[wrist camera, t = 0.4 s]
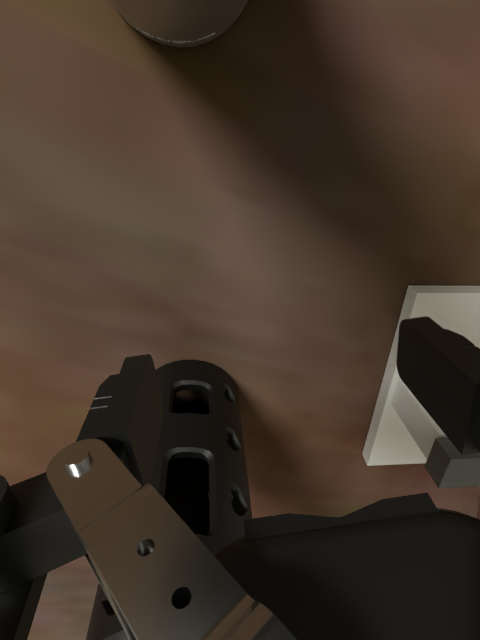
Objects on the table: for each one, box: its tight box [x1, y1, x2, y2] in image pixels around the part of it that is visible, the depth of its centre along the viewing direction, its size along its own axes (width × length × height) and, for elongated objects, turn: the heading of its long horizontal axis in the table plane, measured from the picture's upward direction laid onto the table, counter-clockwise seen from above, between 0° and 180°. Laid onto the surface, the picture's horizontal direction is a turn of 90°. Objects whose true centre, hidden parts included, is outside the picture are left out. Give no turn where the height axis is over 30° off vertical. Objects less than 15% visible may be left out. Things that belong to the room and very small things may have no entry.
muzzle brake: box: [86, 360, 252, 640], centre depth 24 cm, size 10×28×10 cm
